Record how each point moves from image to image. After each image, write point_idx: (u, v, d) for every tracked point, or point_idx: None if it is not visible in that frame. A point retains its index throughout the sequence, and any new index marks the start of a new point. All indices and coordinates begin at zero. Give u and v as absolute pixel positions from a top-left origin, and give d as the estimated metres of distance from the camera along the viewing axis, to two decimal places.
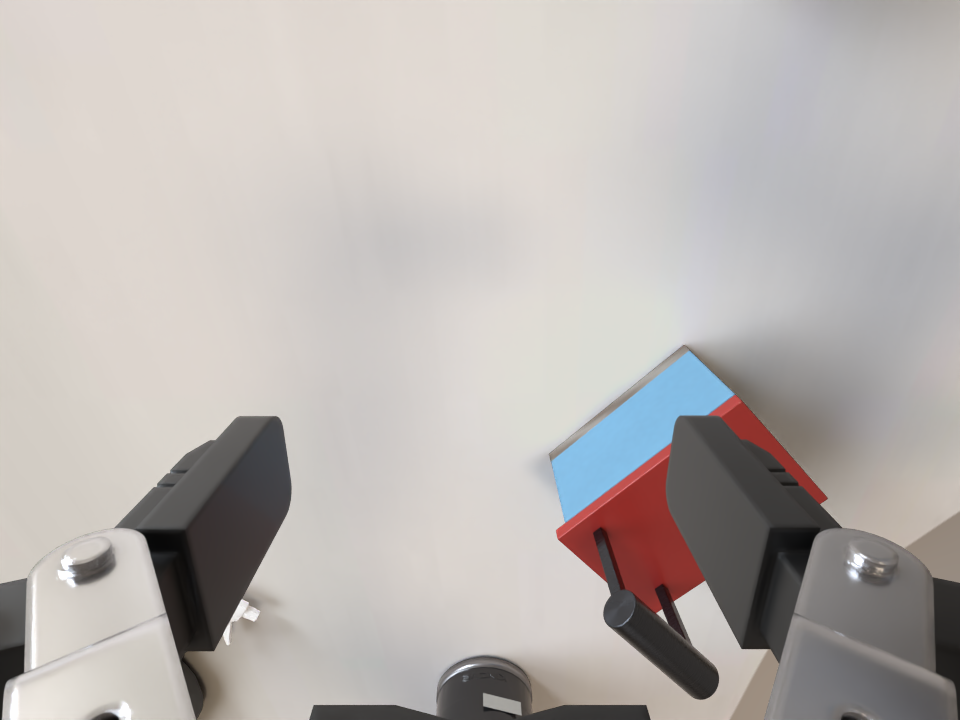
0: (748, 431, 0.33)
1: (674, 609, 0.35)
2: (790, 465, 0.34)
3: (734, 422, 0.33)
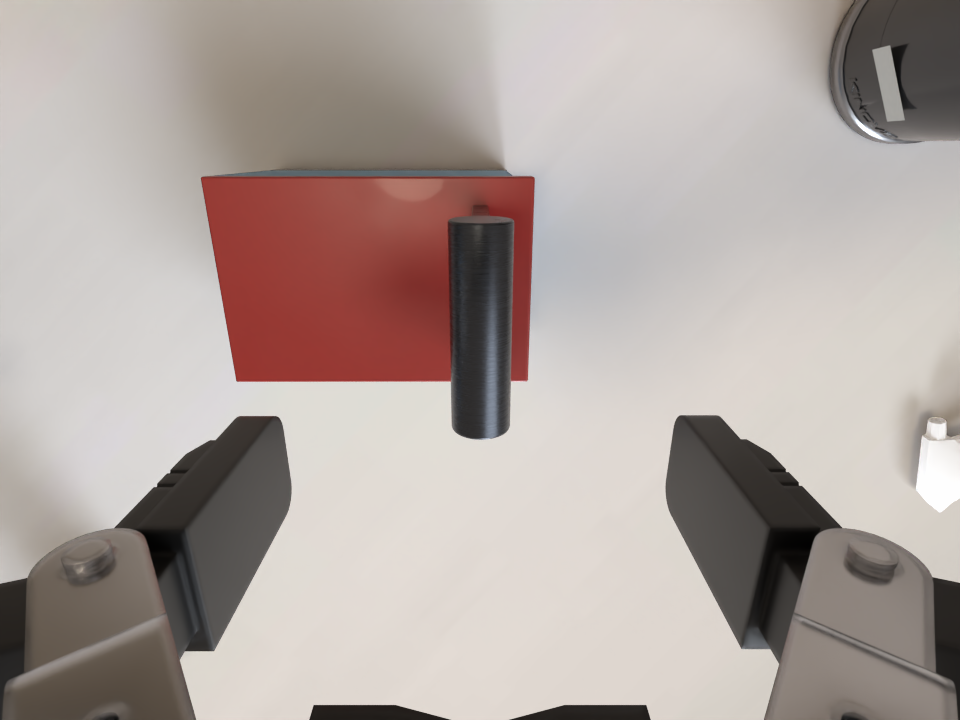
0: (247, 344, 0.26)
1: None
2: (223, 265, 0.25)
3: (256, 365, 0.27)
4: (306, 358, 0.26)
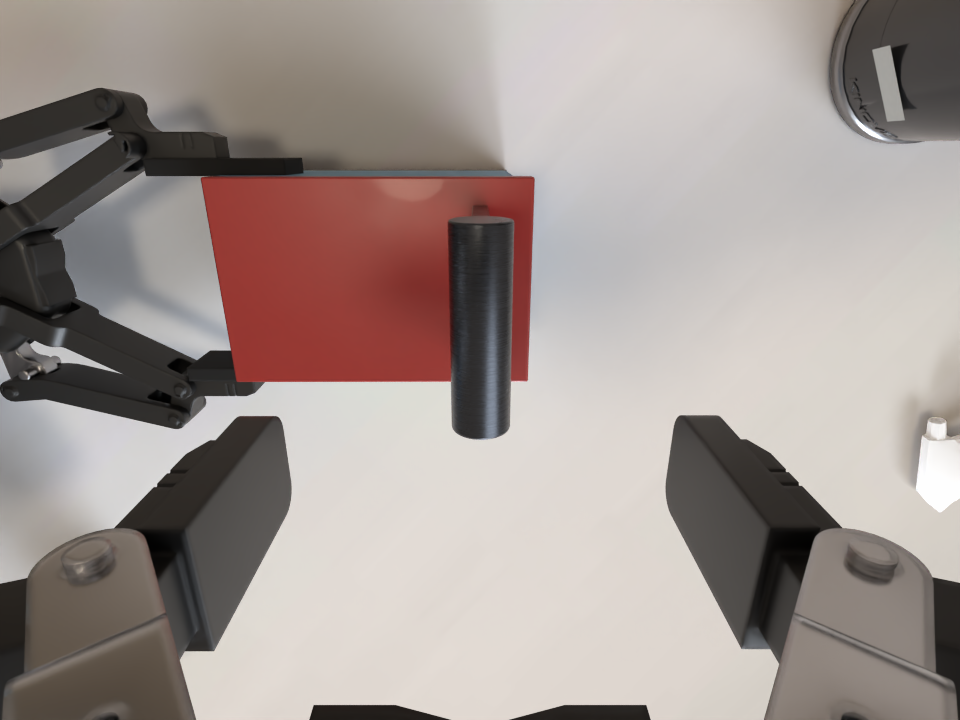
0: (247, 344, 0.26)
1: None
2: (223, 265, 0.25)
3: (256, 365, 0.27)
4: (306, 358, 0.26)
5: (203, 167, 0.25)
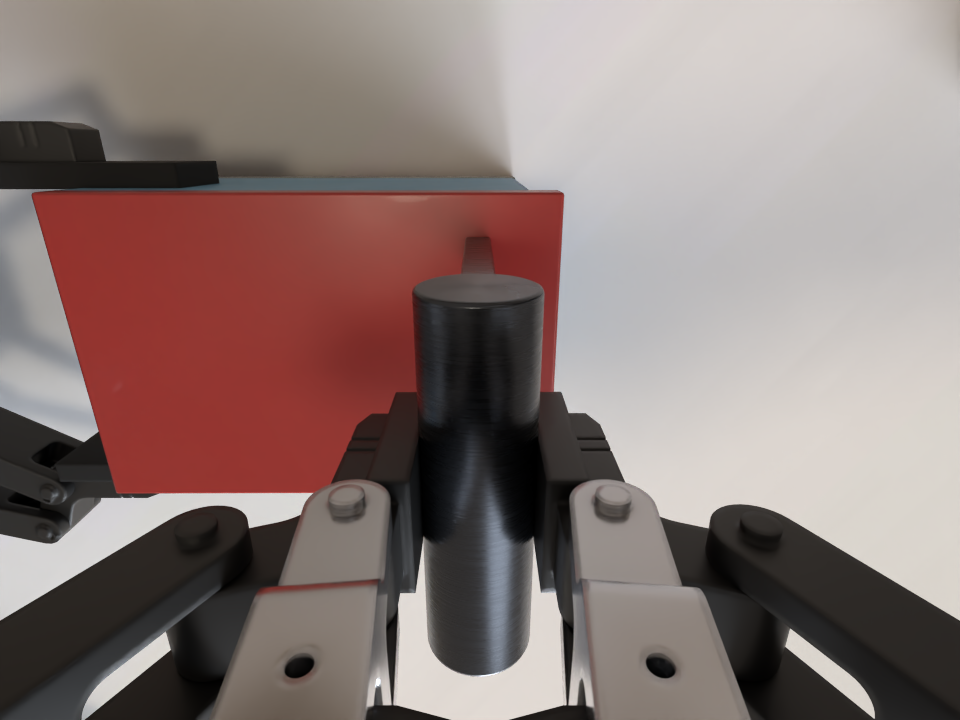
0: (128, 441, 0.17)
1: None
2: (80, 328, 0.16)
3: (144, 471, 0.18)
4: (218, 461, 0.18)
5: (51, 176, 0.16)
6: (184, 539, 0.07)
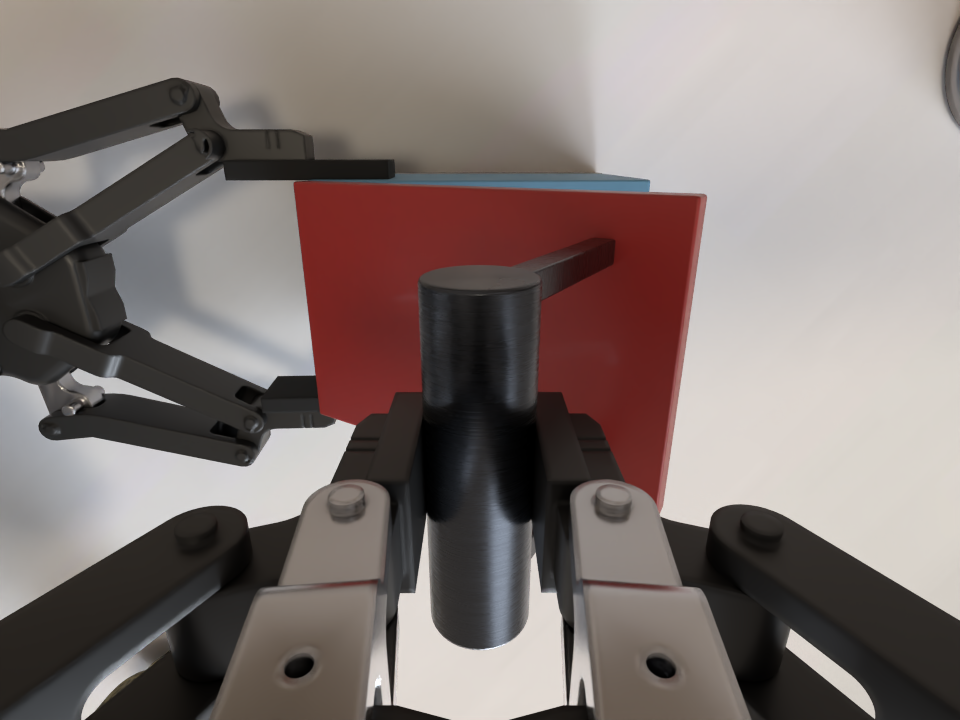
0: (329, 375, 0.23)
1: None
2: (310, 284, 0.21)
3: (337, 402, 0.23)
4: (381, 407, 0.21)
5: (293, 170, 0.22)
6: (184, 539, 0.07)
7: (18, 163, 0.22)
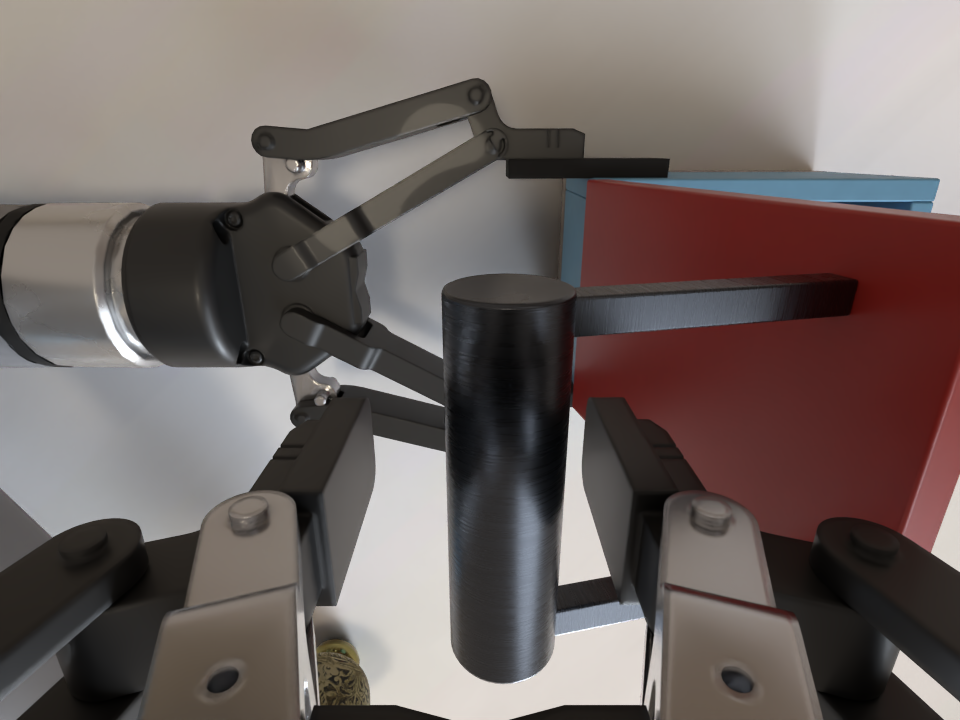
0: (582, 372, 0.23)
1: None
2: (583, 280, 0.22)
3: (583, 399, 0.23)
4: None
5: (576, 168, 0.22)
6: (71, 554, 0.06)
7: (306, 161, 0.23)
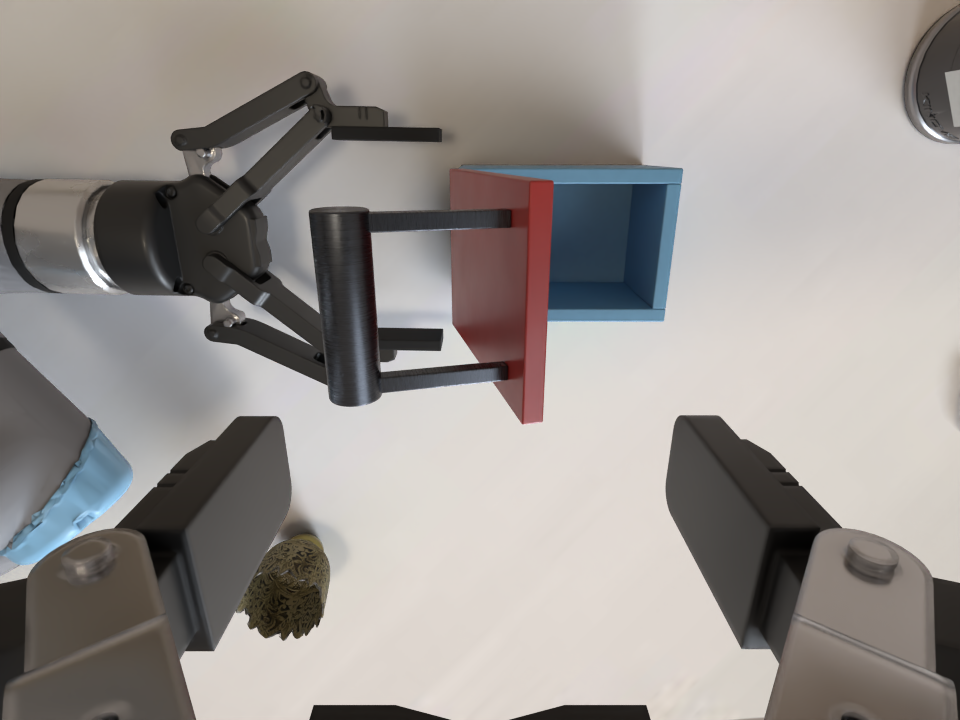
0: (454, 298, 0.34)
1: None
2: (451, 235, 0.33)
3: (455, 316, 0.34)
4: (464, 322, 0.32)
5: (376, 133, 0.33)
6: None
7: (211, 149, 0.34)
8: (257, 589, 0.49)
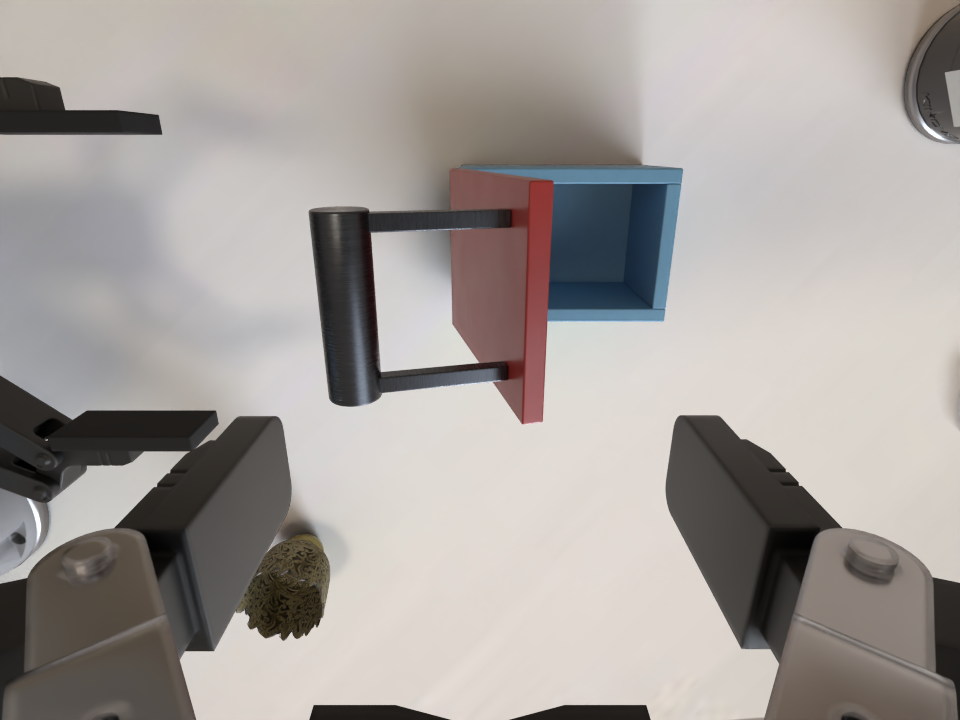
0: (454, 298, 0.34)
1: None
2: (451, 235, 0.33)
3: (455, 316, 0.34)
4: (464, 322, 0.32)
5: (18, 121, 0.20)
6: None
7: None
8: (257, 589, 0.49)
